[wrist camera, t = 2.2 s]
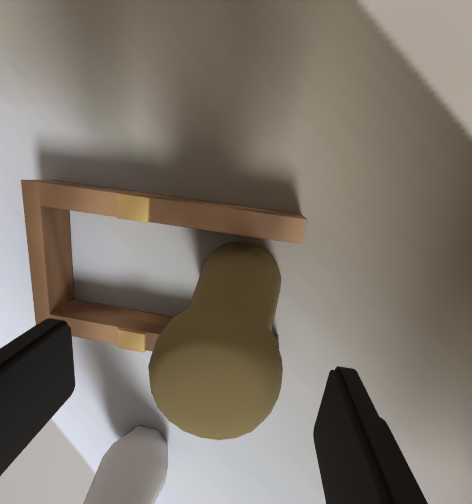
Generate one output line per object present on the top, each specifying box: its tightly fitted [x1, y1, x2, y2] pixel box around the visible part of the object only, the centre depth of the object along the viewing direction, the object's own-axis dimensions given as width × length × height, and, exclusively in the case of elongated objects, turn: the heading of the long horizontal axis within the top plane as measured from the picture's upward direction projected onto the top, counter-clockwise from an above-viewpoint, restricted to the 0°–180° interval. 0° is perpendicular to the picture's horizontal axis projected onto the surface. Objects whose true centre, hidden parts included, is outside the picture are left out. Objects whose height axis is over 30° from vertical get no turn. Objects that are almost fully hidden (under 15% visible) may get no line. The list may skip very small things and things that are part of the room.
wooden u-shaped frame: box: [21, 180, 307, 353], centre depth 18 cm, size 18×11×3 cm, turn 83°
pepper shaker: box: [149, 242, 283, 440], centre depth 14 cm, size 6×6×11 cm
